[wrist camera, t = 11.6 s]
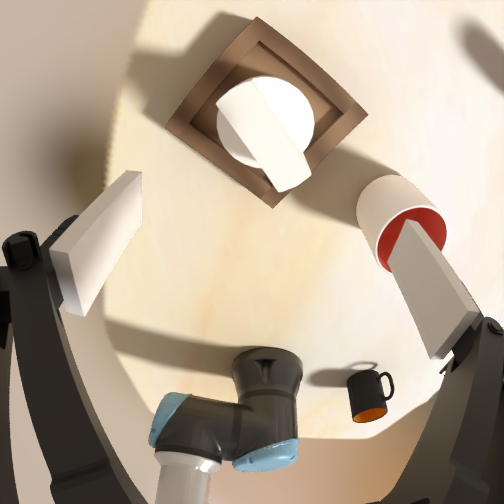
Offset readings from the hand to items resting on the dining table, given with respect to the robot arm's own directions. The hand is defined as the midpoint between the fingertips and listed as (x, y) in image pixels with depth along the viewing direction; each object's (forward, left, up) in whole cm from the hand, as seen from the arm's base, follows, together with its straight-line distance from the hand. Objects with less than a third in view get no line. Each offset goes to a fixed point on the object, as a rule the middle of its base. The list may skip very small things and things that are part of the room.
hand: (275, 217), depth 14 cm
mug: (-25, -55, -25) cm, 65 cm away
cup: (+3, -20, -25) cm, 32 cm away
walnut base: (+1, +1, -25) cm, 25 cm away
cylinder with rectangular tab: (+1, +1, -22) cm, 22 cm away
